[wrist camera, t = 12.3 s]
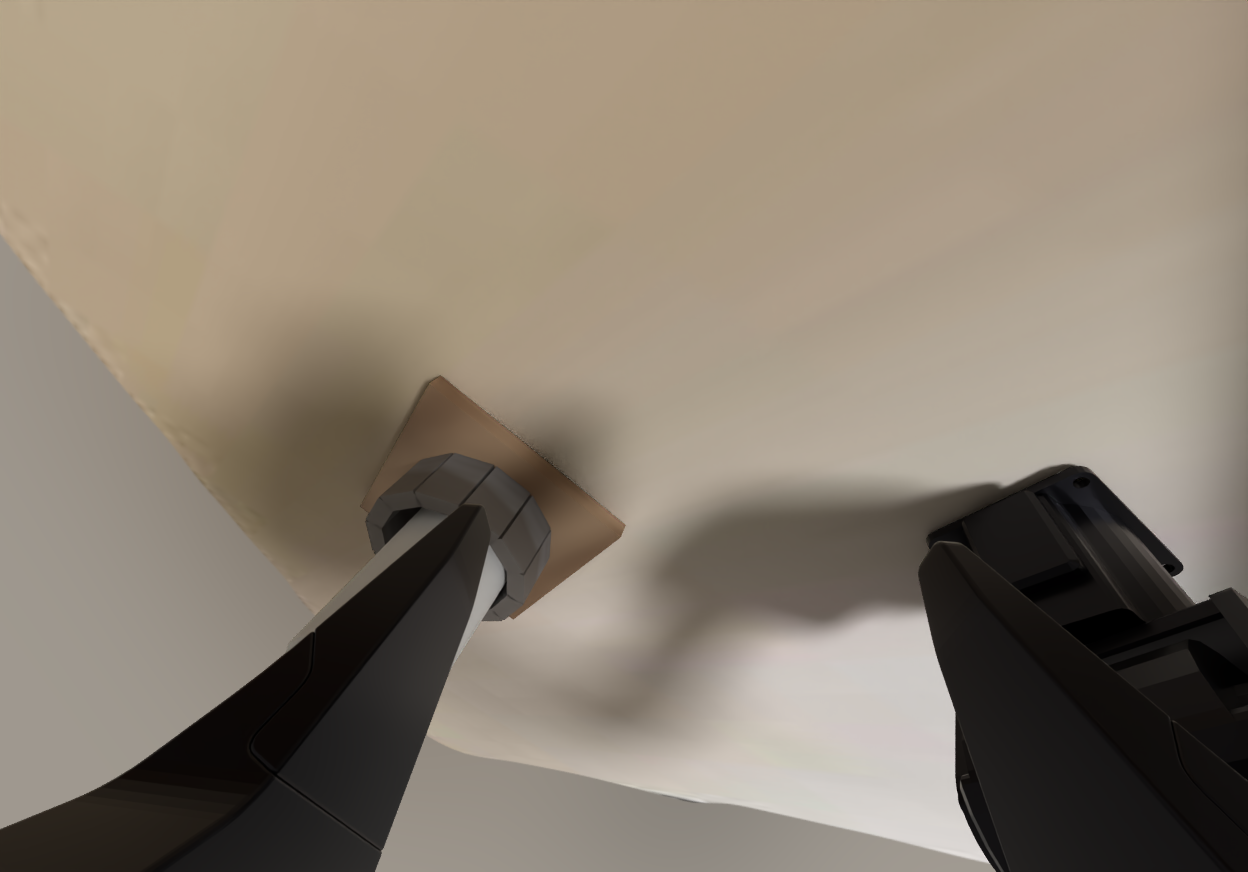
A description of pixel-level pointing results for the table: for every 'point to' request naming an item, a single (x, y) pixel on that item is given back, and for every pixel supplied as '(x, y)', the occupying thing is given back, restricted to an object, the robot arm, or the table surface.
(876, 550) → the table surface
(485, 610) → the beverage can
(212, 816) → the robot arm
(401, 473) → the can holder
